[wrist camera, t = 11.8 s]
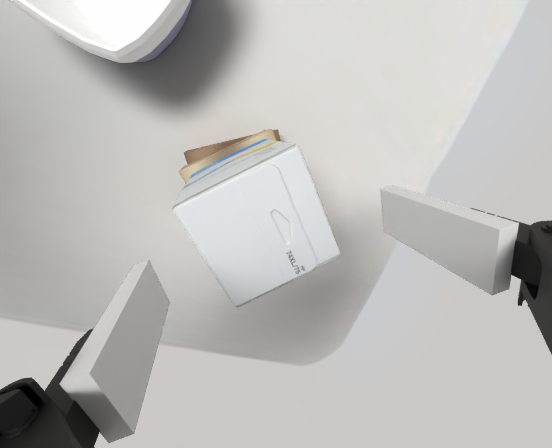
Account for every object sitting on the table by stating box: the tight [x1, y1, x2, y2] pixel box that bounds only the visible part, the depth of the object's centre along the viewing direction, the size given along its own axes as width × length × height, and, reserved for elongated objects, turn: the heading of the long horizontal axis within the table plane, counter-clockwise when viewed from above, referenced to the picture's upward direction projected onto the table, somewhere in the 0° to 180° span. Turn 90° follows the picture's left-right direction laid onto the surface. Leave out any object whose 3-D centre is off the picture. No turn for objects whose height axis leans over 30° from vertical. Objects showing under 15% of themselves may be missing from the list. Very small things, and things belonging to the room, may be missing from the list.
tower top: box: [179, 130, 276, 184], centre depth 29 cm, size 10×10×4 cm
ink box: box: [171, 139, 340, 307], centre depth 21 cm, size 8×8×12 cm
